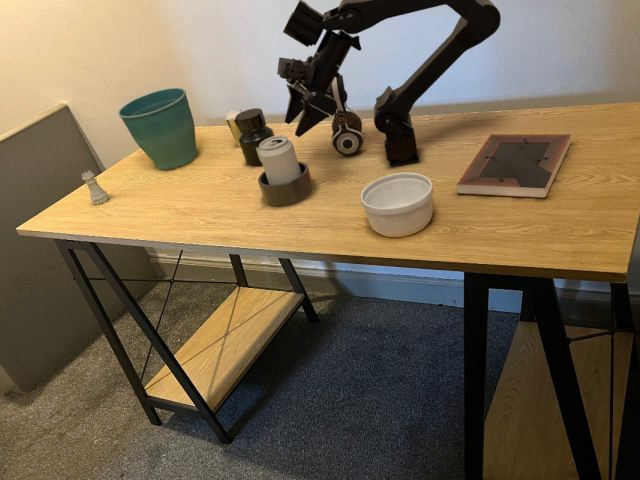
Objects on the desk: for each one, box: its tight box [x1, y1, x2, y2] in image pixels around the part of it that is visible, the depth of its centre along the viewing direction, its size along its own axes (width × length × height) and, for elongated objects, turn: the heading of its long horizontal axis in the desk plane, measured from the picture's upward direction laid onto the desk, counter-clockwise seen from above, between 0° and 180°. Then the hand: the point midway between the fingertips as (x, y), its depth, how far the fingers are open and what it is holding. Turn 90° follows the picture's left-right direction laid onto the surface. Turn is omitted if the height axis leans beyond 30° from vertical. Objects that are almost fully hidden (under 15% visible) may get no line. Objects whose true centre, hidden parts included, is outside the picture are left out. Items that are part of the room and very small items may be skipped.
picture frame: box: [456, 133, 572, 199], centre depth 114 cm, size 16×2×22 cm
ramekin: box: [360, 171, 434, 238], centre depth 106 cm, size 13×13×7 cm
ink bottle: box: [235, 107, 276, 167], centre depth 144 cm, size 10×9×12 cm
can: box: [259, 134, 302, 185], centre depth 124 cm, size 8×8×12 cm
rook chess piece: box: [81, 170, 110, 205], centre depth 147 cm, size 4×4×8 cm
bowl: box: [257, 161, 315, 208], centre depth 127 cm, size 11×11×5 cm
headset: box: [328, 74, 365, 157], centre depth 135 cm, size 17×8×20 cm, turn 1°
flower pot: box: [117, 87, 199, 171], centre depth 155 cm, size 18×18×17 cm
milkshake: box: [224, 110, 242, 147], centre depth 156 cm, size 4×5×10 cm
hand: (291, 129), depth 121 cm, fingers open, 9 cm apart
